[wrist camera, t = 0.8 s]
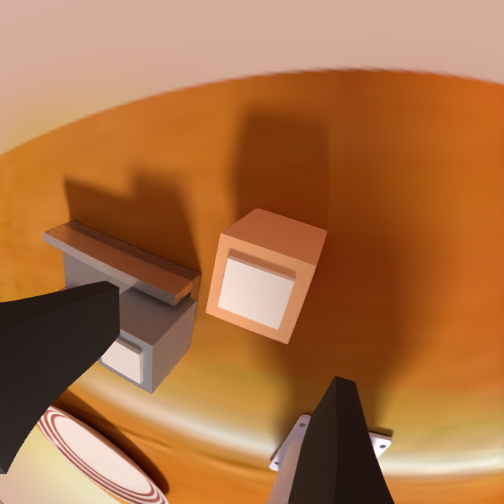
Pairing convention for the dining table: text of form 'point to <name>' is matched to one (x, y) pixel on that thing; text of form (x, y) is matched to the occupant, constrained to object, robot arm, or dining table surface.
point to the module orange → (264, 272)
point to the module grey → (149, 338)
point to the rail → (119, 264)
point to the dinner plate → (99, 458)
